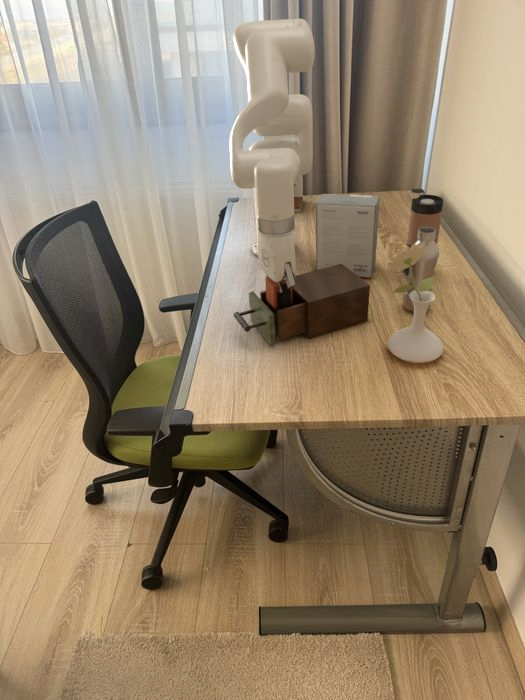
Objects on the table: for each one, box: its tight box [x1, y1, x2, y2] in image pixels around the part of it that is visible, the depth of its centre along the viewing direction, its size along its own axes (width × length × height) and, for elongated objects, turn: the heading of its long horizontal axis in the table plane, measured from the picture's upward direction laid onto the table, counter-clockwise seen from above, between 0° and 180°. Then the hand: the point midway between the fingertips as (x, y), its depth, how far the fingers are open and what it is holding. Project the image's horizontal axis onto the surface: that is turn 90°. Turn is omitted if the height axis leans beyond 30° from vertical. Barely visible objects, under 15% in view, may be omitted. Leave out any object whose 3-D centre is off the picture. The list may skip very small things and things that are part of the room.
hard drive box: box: [315, 193, 381, 278], centre depth 136 cm, size 16×8×20 cm, turn 71°
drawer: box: [233, 289, 307, 346], centre depth 116 cm, size 19×11×8 cm, turn 113°
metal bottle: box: [402, 227, 440, 313], centre depth 118 cm, size 6×7×20 cm
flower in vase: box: [386, 243, 444, 364], centre depth 102 cm, size 13×11×25 cm
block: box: [264, 275, 292, 308], centre depth 113 cm, size 4×4×6 cm
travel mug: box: [404, 194, 444, 276], centre depth 132 cm, size 8×8×20 cm
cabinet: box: [292, 264, 371, 340], centre depth 120 cm, size 16×13×10 cm
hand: (279, 300), depth 114 cm, fingers closed on block, 4 cm apart
